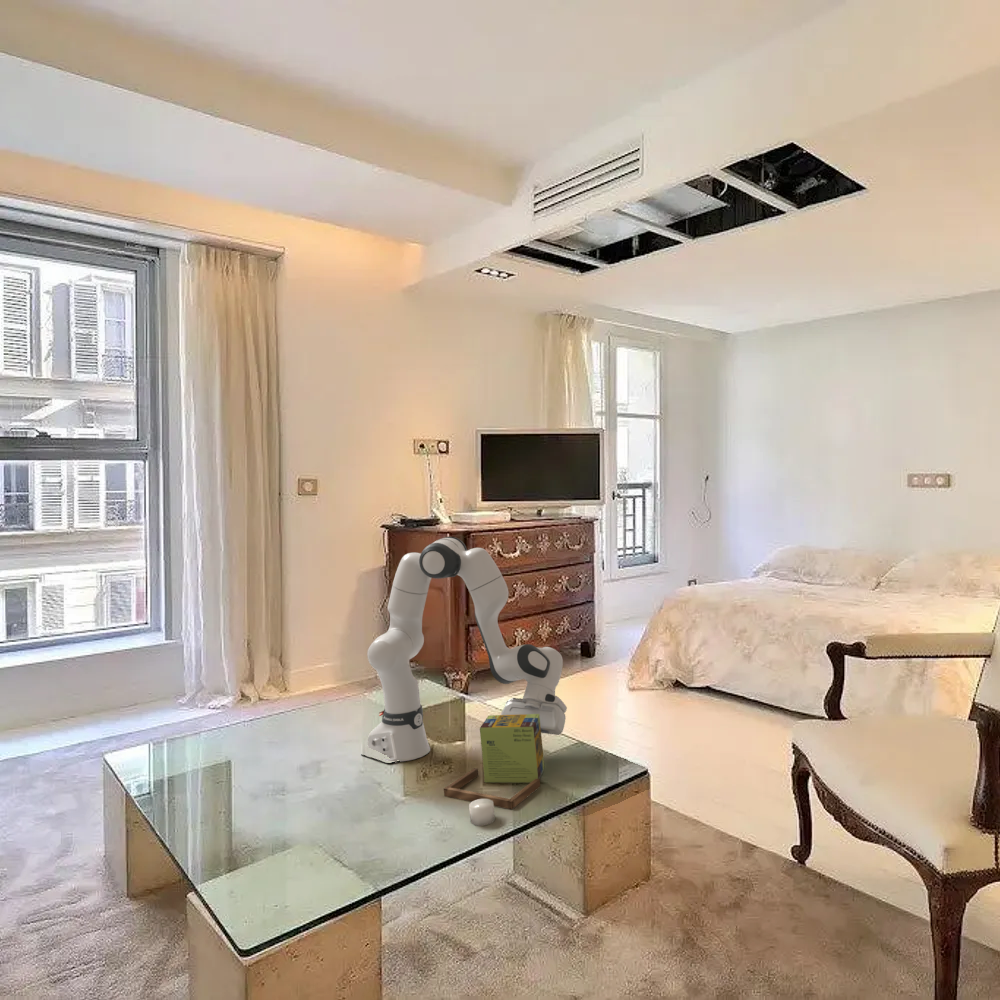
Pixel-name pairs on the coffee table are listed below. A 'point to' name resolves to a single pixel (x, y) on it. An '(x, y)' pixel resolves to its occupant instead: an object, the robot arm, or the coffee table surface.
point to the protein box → (512, 748)
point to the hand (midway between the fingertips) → (523, 744)
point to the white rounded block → (482, 812)
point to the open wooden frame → (456, 792)
